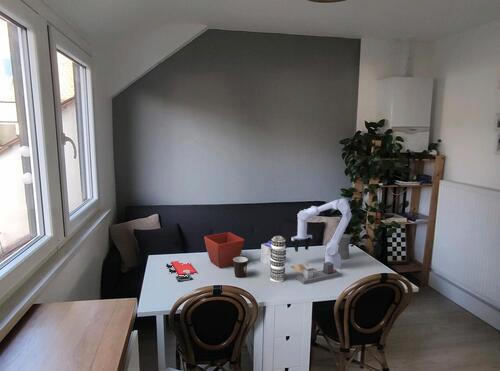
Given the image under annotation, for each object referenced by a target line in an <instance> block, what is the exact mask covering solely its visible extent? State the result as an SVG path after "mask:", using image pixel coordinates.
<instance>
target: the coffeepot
mask: <svg viewBox="0 0 500 371" xmlns="http://www.w3.org/2000/svg"><path fill="white" fill-rule="evenodd" d="M352 238H353V240H352V244H351V245H350V243H351V239H352ZM357 239H358V237H357V235H356V234H348V233H346V230H345V231H344V233H343V235H342V237H341V239H340V241H339V243H338V246H337V252H336V253H339V254H340V256H341V260H349V259H350V248H349V247H354V246H355V244H356V242H357Z"/></svg>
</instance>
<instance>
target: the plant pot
mask: <svg viewBox="0 0 500 371" xmlns="http://www.w3.org/2000/svg"><path fill="white" fill-rule="evenodd" d="M204 243H205V248H206V252H207V255H208V258H209V261H210V262H211V263H212V264H213V265H215V266H216V267H218V268H219V269H222V268H226V267H231V266H234V263H233V259H234V258H236V257H241V254H242V251H243V248H244V243H245V239H244V238H243V237H240V236H237V235H235V234H234V233H232V232H221V233H216V234H211V235H206V236H205V235H204Z"/></svg>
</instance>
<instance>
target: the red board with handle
mask: <svg viewBox="0 0 500 371" xmlns="http://www.w3.org/2000/svg"><path fill="white" fill-rule="evenodd" d="M178 261H179V260H177V261H170V262H171V263H170V264H169V263H166V264H165V266H166V267H168V273H169V272H171V273H176V272H177V273H176V275H177V274H178V275H177V276H175V278H176V280H177V282H181V281H187V280H193V277H192V276H191V275H190V274H192V275H195V274H194V273H197V274H198V271H197V269H196V268H195V267H194V266H193V265H192V262H190V264H189V263H187V264H183V263H179V262H178ZM171 264H172V265H171ZM182 264H183V265H182ZM171 266H173V267H174V268H173V267H171ZM172 268H173V269H172ZM174 269H175V270H174ZM174 271H176V272H174ZM179 275H184V276H185V275H187V276H188V277H187V276H185V277H184V276H179Z"/></svg>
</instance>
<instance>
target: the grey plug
mask: <svg viewBox="0 0 500 371" xmlns="http://www.w3.org/2000/svg"><path fill="white" fill-rule="evenodd" d="M314 269H315V267H313V266H311V265H310V264H308V266H304V267H303V273H302V274H303V276H304V277H305V278H307V279H310V278H313V272H314V271H313V270H314Z"/></svg>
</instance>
